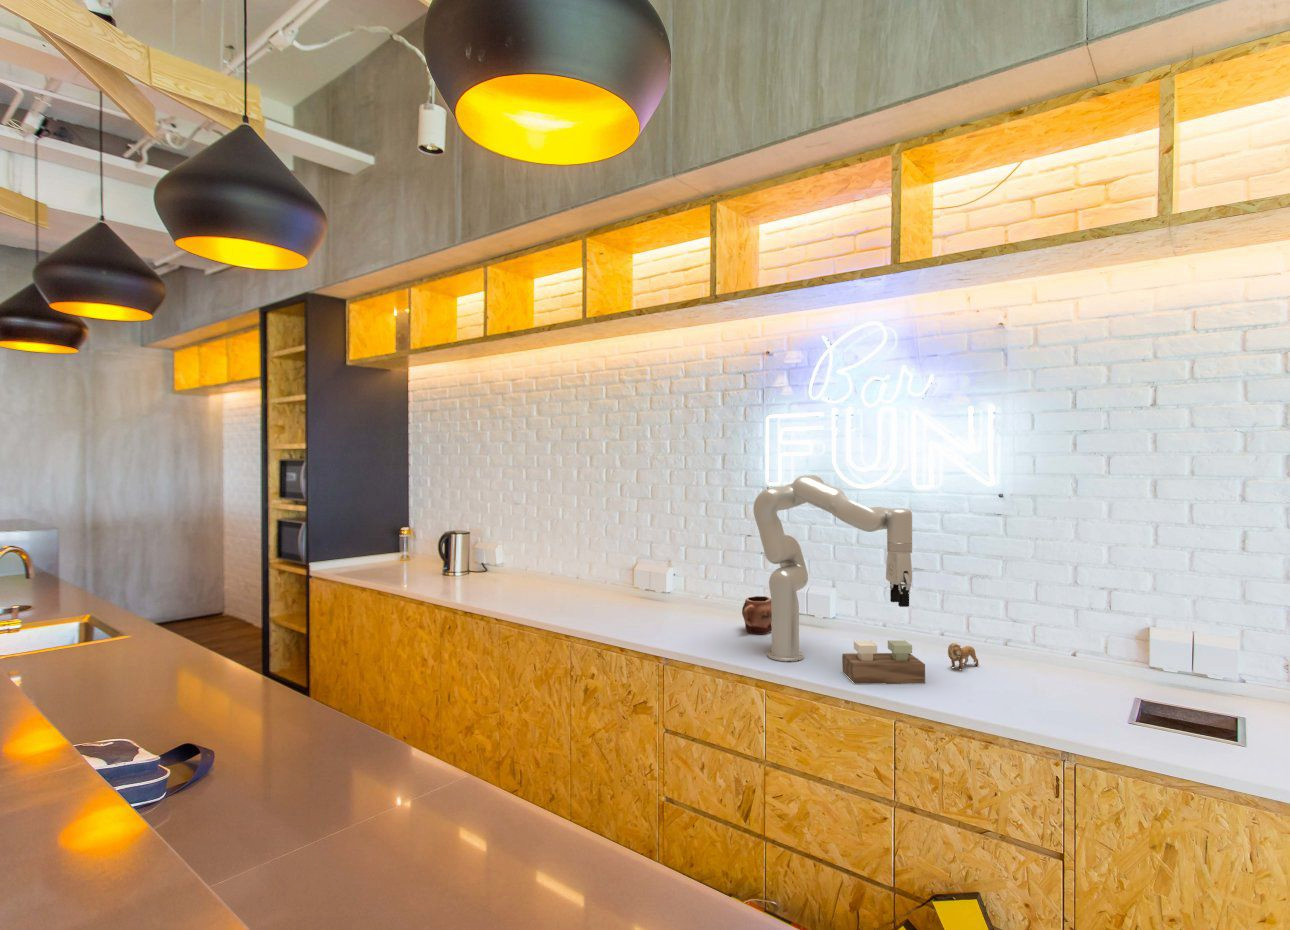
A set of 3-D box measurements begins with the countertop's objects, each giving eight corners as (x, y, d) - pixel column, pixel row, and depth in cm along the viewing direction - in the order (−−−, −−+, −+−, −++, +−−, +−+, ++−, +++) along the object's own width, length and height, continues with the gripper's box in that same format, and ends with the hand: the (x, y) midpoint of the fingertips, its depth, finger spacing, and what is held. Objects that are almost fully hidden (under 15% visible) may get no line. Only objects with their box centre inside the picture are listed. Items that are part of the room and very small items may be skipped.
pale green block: (887, 662, 214) (887, 640, 214) (905, 662, 214) (904, 640, 214) (894, 667, 208) (894, 645, 208) (912, 667, 209) (912, 645, 208)
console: (842, 671, 217) (842, 653, 217) (909, 671, 217) (909, 653, 217) (854, 684, 205) (854, 664, 205) (925, 683, 205) (925, 664, 205)
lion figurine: (959, 673, 215) (959, 646, 215) (943, 669, 219) (943, 642, 219) (982, 665, 223) (982, 638, 223) (966, 661, 228) (966, 635, 228)
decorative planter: (760, 640, 255) (760, 604, 255) (732, 635, 262) (732, 600, 262) (781, 629, 272) (781, 595, 272) (754, 625, 279) (754, 592, 279)
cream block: (853, 662, 214) (853, 640, 214) (871, 662, 214) (871, 640, 214) (859, 667, 208) (859, 645, 208) (877, 667, 208) (877, 645, 208)
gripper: (878, 544, 220) (878, 598, 220) (898, 551, 202) (898, 610, 203) (900, 544, 220) (900, 598, 220) (922, 551, 202) (922, 610, 203)
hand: (899, 603), depth 211 cm, fingers open, 5 cm apart
